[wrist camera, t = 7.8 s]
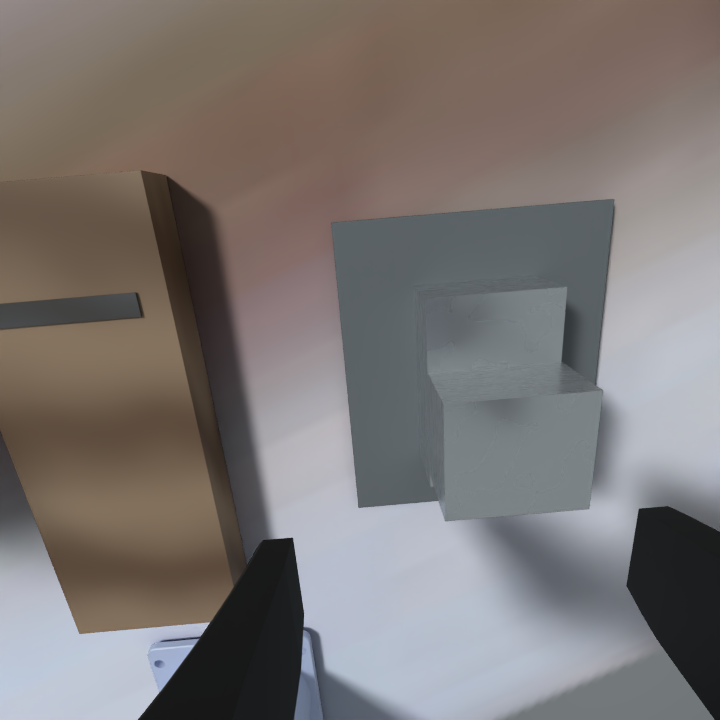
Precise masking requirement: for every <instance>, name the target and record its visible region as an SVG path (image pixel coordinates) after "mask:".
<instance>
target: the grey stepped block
mask: <svg viewBox="0 0 720 720" xmlns="http://www.w3.org/2000/svg"><path fill="white" fill-rule="evenodd" d="M566 297H567V287H566V286H563V285H560V284H557V283H555V282H552V281H549V280H546V279H543V278H540V277H537V276H523V277H511V278H499V279H486V280H474V281H461V282H449V283H437V284H424V285H414V310H415V339H416V368H417V397H418V426H419V452H420V455H421V458H422V461H423V464H424V468H425V471H426V474H427V477H428V480H429V484H430V487H433V486H434V488H435V492H436V495H437V498H438V501H439V504H440V507H441V510H442V513H443V516H444V519H445V521H455V520H467V519H478V518H490V517H502V516H513V515H525V514H537V513H548V512H560V511H572V510H584V509H589V507H590V499H591V490H592V481H593V473H594V464H595V456H596V447H597V438H598V430H599V421H600V412H601V404H602V395H603V390H601V389H600V388H599V387H597V386H596V385H594V384H593V383H591V382H590V381H589V380H587V379H586V378H584V377H583V376H581V375H580V374H579V373H577V372H576V371H574V370H573V369H571V368H570V367H569V366H567V365H566V364H564V363H563V362H561V359H562V347H563V334H564V322H565V309H566Z"/></svg>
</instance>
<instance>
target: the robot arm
mask: <svg viewBox="0 0 720 720" xmlns="http://www.w3.org/2000/svg"><path fill="white" fill-rule="evenodd" d="M627 588H628V589H629V591H630V593H631V595H632V597H633V599H634V600H635V602H636V604H637V606H638V608H639V610H640V611H641V613H642V615H643V617H644V618H645V620H646V622H647V623H648V625H649V627H650V628H651V630H652V632H653V634H654V635H655V637H656V638H657V640H658V641H659V643H660V644H661V646H662V647H663V648H664V650H665V651H666V653H667V654H668V656H669V657H670V658H671V660H672V661H673V663H674V664H675V665H676V667H677V668H678V670H679V671H680V672H681V674H682V675H683V676H684V678H685V679H686V681H687V682H688V683H689V685H690V686H691V687H692V689H693V690H694V692H695V693H696V694H697V696H698V697H699V699H700V700H701V701H702V703H703V704H704V705H705V707H706V708H707V710H708V711H709V712H710V714H711V715H712V716H713V718H714V719H715V720H720V532H719V531H717V530H715V529H713V528H711V527H709V526H707V525H705V524H703V523H701V522H699V521H697V520H695V519H694V518H692V517H690V516H687V515H685V514H683V513H681V512H679V511H677V510H675V509H673V508H671V507H668V506H666V507H654V508H642V509H639V512H638V518H637V524H636V530H635V536H634V542H633V549H632V555H631V561H630V567H629V573H628V580H627ZM303 625H304V610H303V603H302V596H301V590H300V583H299V576H298V569H297V563H296V556H295V549H294V542H293V538H284V539H272V540H263V541H262V542H261V543H260V544H259V546H258V547H257V549H256V551H255V553H254V554H253V556H252V558H251V559H250V561H249V563H248V564H247V566H246V568H245V569H244V571H243V573H242V574H241V576H240V578H239V579H238V581H237V582H236V584H235V586H234V587H233V589H232V590H231V592H230V594H229V595H228V597H227V598H226V600H225V601H224V603H223V604H222V606H221V607H220V609H219V610H218V612H217V613H216V615H215V616H214V618H213V619H212V621H211V622H210V624H209V625H208V627H207V628H206V630H205V631H204V633H203V634H202V636H201V637H200V638H199V639H191V640H180V641H169V642H158V643H154V644H153V645H151V647H150V649H149V651H148V653H147V657H148V660H149V663H150V666H151V669H152V672H153V675H154V678H155V681H156V684H157V687H158V690H159V694H158V695H157V696H156V698H155V699H154V700H153V702H152V703H151V704H150V705H149V707H148V708H147V709H146V710H145V712H144V713H143V714H142V715H141V717H140V718H139V719H138V720H324V719H323V713H322V706H321V700H320V693H319V687H318V681H317V674H316V668H315V662H314V655H313V649H312V643H311V636H310V634H309V633H308V632H307V631H305V630H303ZM302 647H303V648H302Z"/></svg>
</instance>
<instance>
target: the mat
mask: <svg viewBox="0 0 720 720" xmlns="http://www.w3.org/2000/svg"><path fill="white" fill-rule="evenodd" d="M613 209H614V199H608V200H596V201H584V202H572V203H560V204H548V205H536V206H524V207H512V208H501V209H489V210H477V211H465V212H453V213H441V214H429V215H417V216H405V217H393V218H381V219H369V220H357V221H345V222H333V223H331V225H332V236H333V246H334V257H335V267H336V277H337V288H338V298H339V309H340V319H341V330H342V340H343V350H344V361H345V371H346V382H347V392H348V403H349V413H350V423H351V434H352V444H353V455H354V465H355V475H356V486H357V496H358V507H359V508H362V507H374V506H385V505H396V504H408V503H419V502H430V501H438V498H437V495H436V492H435V488H434V486H433V487H430V484H429V480H428V477H427V474H426V471H425V468H424V464H423V461H422V458H421V455H420V452H419V426H418V397H417V368H416V339H415V310H414V285H424V284H437V283H449V282H461V281H474V280H486V279H499V278H511V277H523V276H537V277H540V278H543V279H546V280H549V281H552V282H555V283H557V284H560V285H563V286H566V287H567V297H566V309H565V322H564V334H563V347H562V359H561V362H563V363H564V364H566V365H567V366H569V367H570V368H571V369H573V370H574V371H576V372H577V373H579V374H580V375H581V376H583V377H584V378H586V379H587V380H589V381H590V382H591V383H593V384H594V385H595V381H596V371H597V362H598V352H599V343H600V333H601V323H602V314H603V304H604V295H605V285H606V276H607V266H608V256H609V247H610V237H611V228H612V218H613Z"/></svg>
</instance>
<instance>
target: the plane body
mask: <svg viewBox="0 0 720 720" xmlns="http://www.w3.org/2000/svg"><path fill="white" fill-rule="evenodd" d="M0 431H1V434H2V436H3V439H4V441H5V444H6V447H7V449H8V452H9V454H10V457H11V459H12V462H13V464H14V467H15V470H16V472H17V475H18V477H19V480H20V482H21V485H22V488H23V490H24V493H25V495H26V498H27V500H28V503H29V506H30V508H31V511H32V513H33V516H34V518H35V521H36V523H37V526H38V529H39V531H40V534H41V536H42V539H43V541H44V544H45V547H46V549H47V552H48V554H49V557H50V559H51V562H52V565H53V567H54V570H55V572H56V575H57V577H58V580H59V582H60V585H61V588H62V590H63V593H64V595H65V598H66V600H67V603H68V606H69V608H70V611H71V613H72V616H73V618H74V621H75V624H76V626H77V629H78V631H79V634H84V633H95V632H106V631H117V630H128V629H139V628H150V627H161V626H173V625H184V624H195V623H206V622H211V621H212V619H213V618H214V616H215V615H216V613H217V612H218V610H219V609H220V607H221V606H222V604H223V603H224V601H225V600H226V598H227V597H228V595H229V594H230V592H231V590H232V589H233V587H234V586H235V584H236V582H237V581H238V579H239V578H240V576H241V574H242V573H243V571H244V569H245V568H246V566H247V564H246V560H245V555H244V550H243V545H242V540H241V535H240V531H239V526H238V521H237V516H236V511H235V506H234V502H233V497H232V492H231V487H230V482H229V477H228V473H227V468H226V463H225V458H224V453H223V448H222V444H221V439H220V434H219V429H218V424H217V419H216V415H215V410H214V405H213V400H212V395H211V390H210V386H209V381H208V376H207V371H206V366H205V361H204V357H203V352H202V347H201V342H200V337H199V332H198V328H197V323H196V318H195V313H194V308H193V303H192V299H191V294H190V289H189V284H188V279H187V274H186V270H185V265H184V260H183V255H182V250H181V245H180V241H179V236H178V231H177V226H176V221H175V216H174V211H173V207H172V202H171V197H170V192H169V187H168V182H167V178H166V175H162V174H157V173H152V172H146V171H141V170H139V171H127V172H115V173H103V174H91V175H79V176H66V177H54V178H42V179H30V180H18V181H6V182H0Z"/></svg>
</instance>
